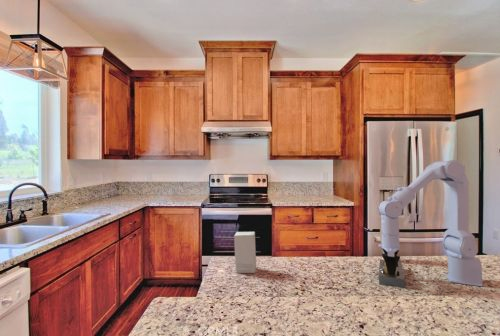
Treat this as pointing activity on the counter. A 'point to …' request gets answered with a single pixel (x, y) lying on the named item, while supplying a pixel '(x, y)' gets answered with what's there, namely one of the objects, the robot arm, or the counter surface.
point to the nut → (386, 270)
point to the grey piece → (392, 276)
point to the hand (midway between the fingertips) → (391, 271)
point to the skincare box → (245, 252)
